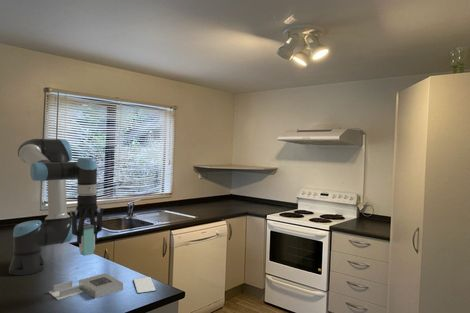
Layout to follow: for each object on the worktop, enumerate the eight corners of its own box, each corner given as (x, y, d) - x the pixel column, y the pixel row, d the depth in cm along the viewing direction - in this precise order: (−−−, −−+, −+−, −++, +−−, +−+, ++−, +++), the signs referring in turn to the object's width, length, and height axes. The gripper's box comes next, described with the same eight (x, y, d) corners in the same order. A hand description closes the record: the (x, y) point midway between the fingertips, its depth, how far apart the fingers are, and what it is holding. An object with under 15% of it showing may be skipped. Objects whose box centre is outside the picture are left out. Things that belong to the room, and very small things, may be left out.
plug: (80, 253, 144) (80, 225, 144) (90, 251, 147) (90, 223, 147) (83, 255, 141) (83, 226, 141) (94, 253, 144) (94, 225, 144)
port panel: (78, 287, 148) (78, 279, 148) (105, 279, 157) (105, 272, 157) (95, 298, 137) (95, 290, 137) (123, 289, 146) (123, 282, 146)
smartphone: (156, 292, 145) (150, 278, 160) (156, 290, 145) (150, 276, 160) (137, 295, 142) (132, 280, 157) (137, 293, 142) (133, 278, 157)
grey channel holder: (48, 292, 142) (48, 285, 142) (73, 285, 149) (73, 279, 149) (57, 300, 135) (57, 293, 135) (83, 292, 142) (83, 285, 142)
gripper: (68, 197, 135) (68, 256, 135) (110, 193, 147) (110, 247, 147) (62, 195, 140) (62, 252, 141) (103, 192, 152) (103, 244, 153)
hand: (87, 249), depth 144 cm, fingers closed on plug, 4 cm apart
